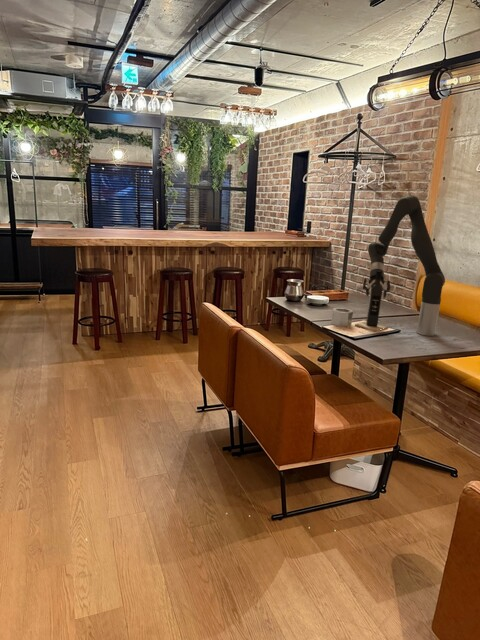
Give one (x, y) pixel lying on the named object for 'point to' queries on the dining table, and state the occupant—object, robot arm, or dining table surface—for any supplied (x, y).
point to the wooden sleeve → (342, 317)
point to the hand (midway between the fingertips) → (376, 296)
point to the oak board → (371, 326)
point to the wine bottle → (374, 301)
